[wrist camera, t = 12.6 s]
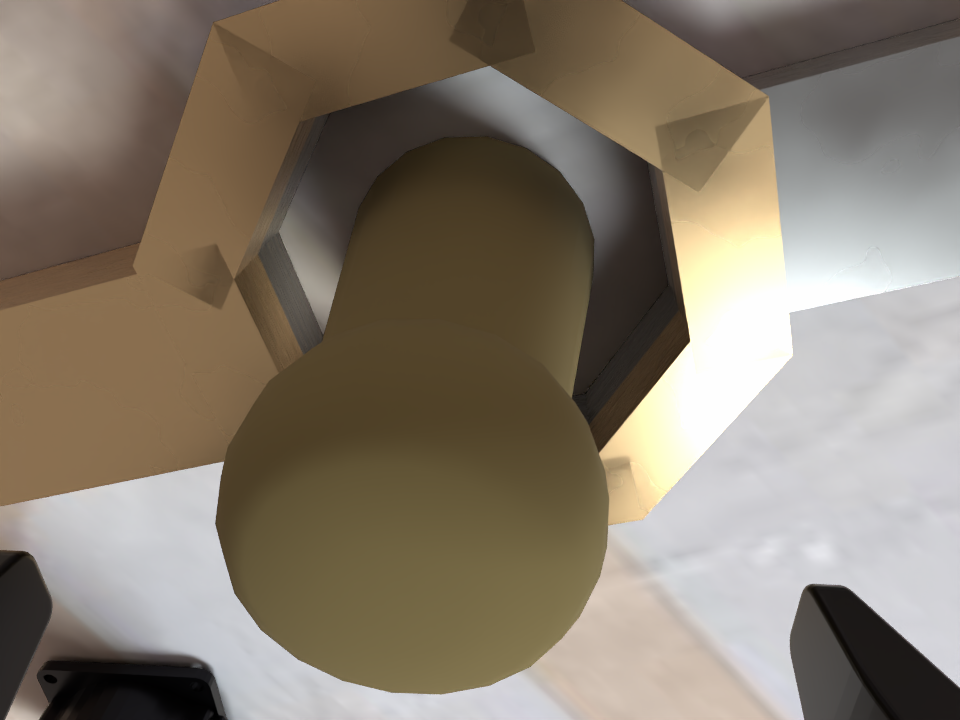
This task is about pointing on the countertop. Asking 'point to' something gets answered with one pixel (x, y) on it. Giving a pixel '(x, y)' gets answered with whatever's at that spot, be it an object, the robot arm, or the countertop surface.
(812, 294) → the lower chain end
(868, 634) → the robot arm
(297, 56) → the upper chain end
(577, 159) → the countertop surface
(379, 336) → the cork
